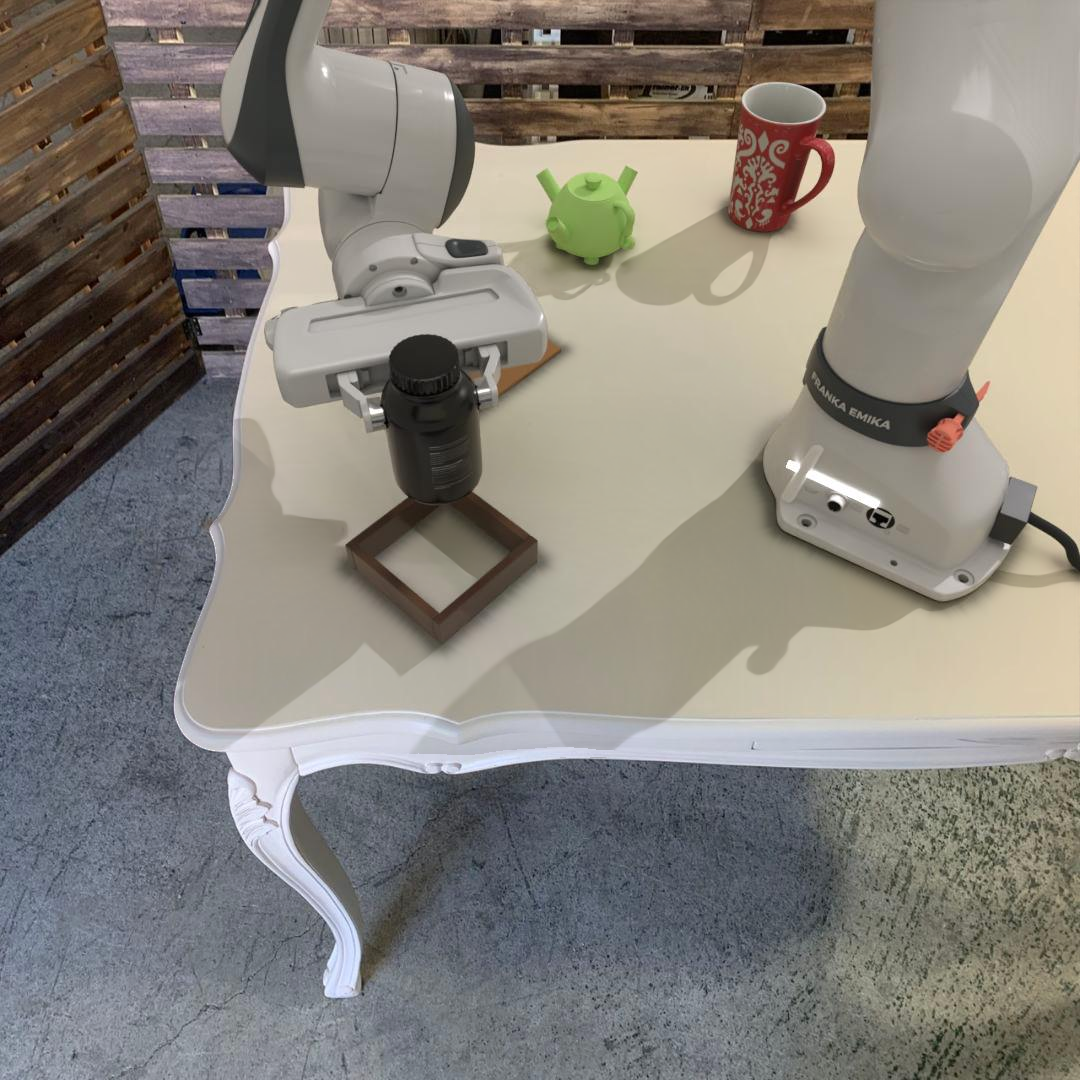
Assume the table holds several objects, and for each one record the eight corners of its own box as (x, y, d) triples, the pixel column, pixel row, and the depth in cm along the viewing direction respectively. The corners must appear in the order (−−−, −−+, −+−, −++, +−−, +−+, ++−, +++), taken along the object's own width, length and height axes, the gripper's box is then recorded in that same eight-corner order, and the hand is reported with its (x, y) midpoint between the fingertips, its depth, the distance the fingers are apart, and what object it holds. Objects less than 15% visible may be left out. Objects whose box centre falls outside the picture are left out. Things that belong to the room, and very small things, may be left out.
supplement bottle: (488, 445, 71) (483, 327, 62) (476, 512, 67) (469, 397, 58) (402, 438, 72) (384, 319, 62) (385, 504, 68) (363, 388, 58)
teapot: (644, 274, 99) (653, 205, 92) (540, 277, 99) (542, 208, 92) (631, 215, 106) (639, 147, 99) (534, 217, 105) (535, 148, 98)
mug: (703, 206, 107) (724, 94, 96) (760, 184, 110) (787, 73, 99) (774, 262, 101) (805, 149, 90) (833, 237, 104) (869, 124, 93)
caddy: (537, 561, 76) (538, 540, 73) (442, 645, 71) (439, 625, 68) (446, 491, 80) (444, 469, 78) (350, 565, 75) (344, 544, 73)
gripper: (251, 281, 66) (273, 410, 59) (517, 237, 70) (571, 352, 62) (270, 347, 71) (293, 473, 64) (517, 302, 75) (568, 416, 67)
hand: (433, 413), depth 63 cm, fingers closed on supplement bottle, 7 cm apart
